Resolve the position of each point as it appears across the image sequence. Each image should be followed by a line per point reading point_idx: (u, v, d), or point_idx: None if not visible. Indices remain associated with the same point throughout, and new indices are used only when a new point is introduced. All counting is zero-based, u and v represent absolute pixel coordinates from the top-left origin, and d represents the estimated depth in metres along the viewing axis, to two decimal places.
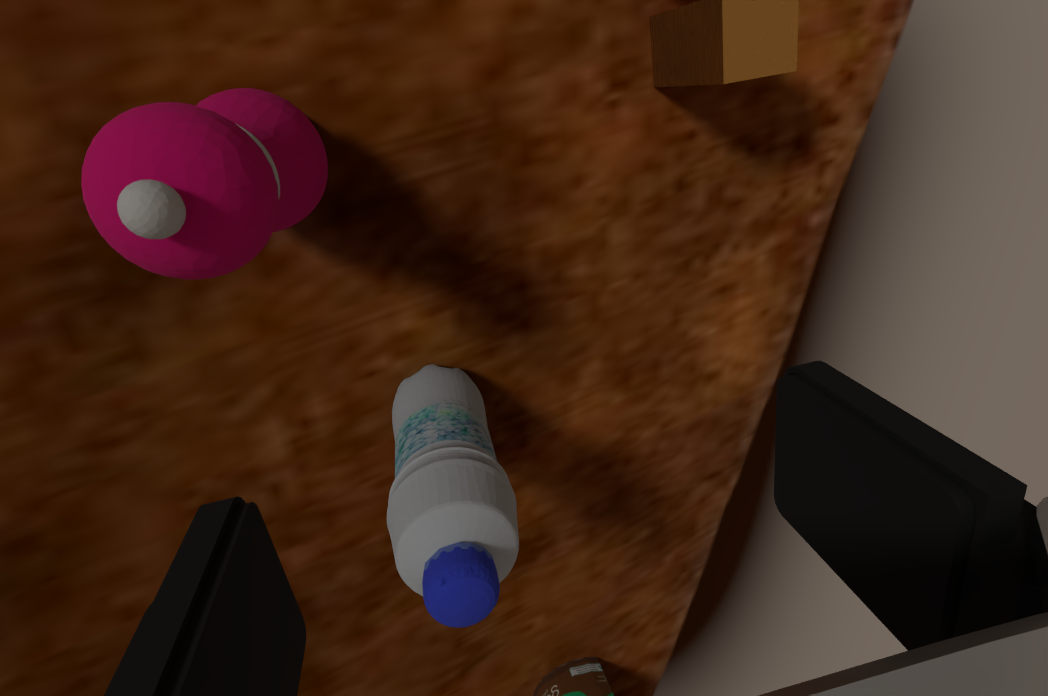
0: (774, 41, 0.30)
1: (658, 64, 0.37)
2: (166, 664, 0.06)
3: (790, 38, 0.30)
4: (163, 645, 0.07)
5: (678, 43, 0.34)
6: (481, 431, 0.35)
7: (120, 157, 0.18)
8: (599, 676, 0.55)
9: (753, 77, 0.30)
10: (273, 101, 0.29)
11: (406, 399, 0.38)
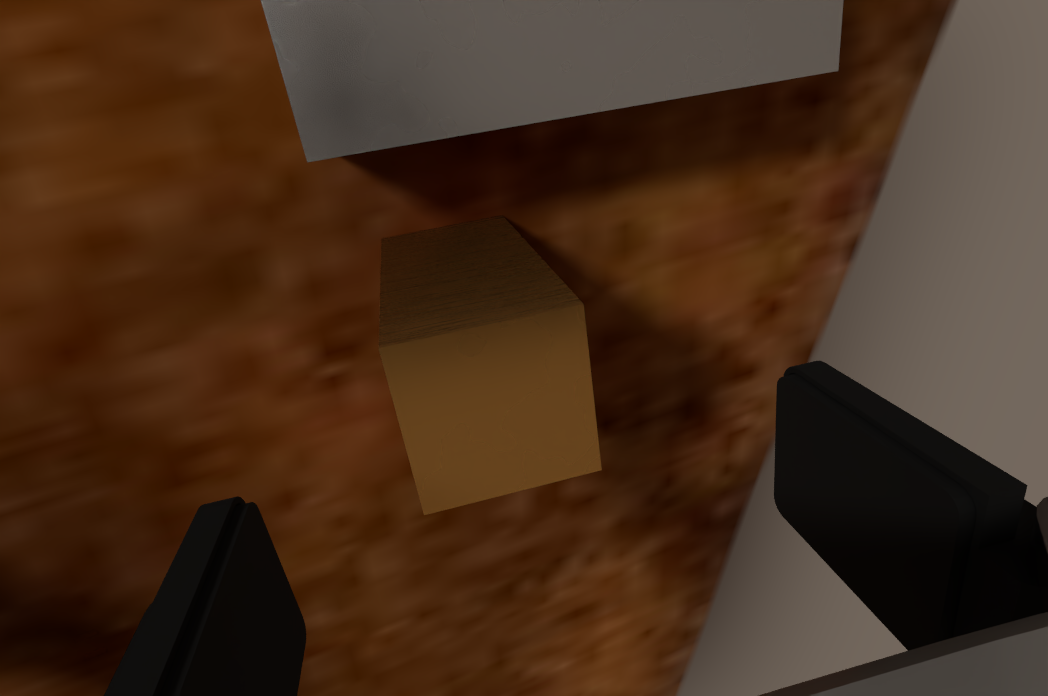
0: (538, 425, 0.13)
1: None
2: (165, 665, 0.06)
3: (578, 415, 0.13)
4: (163, 645, 0.07)
5: None
6: None
7: None
8: None
9: (497, 494, 0.13)
10: None
11: None
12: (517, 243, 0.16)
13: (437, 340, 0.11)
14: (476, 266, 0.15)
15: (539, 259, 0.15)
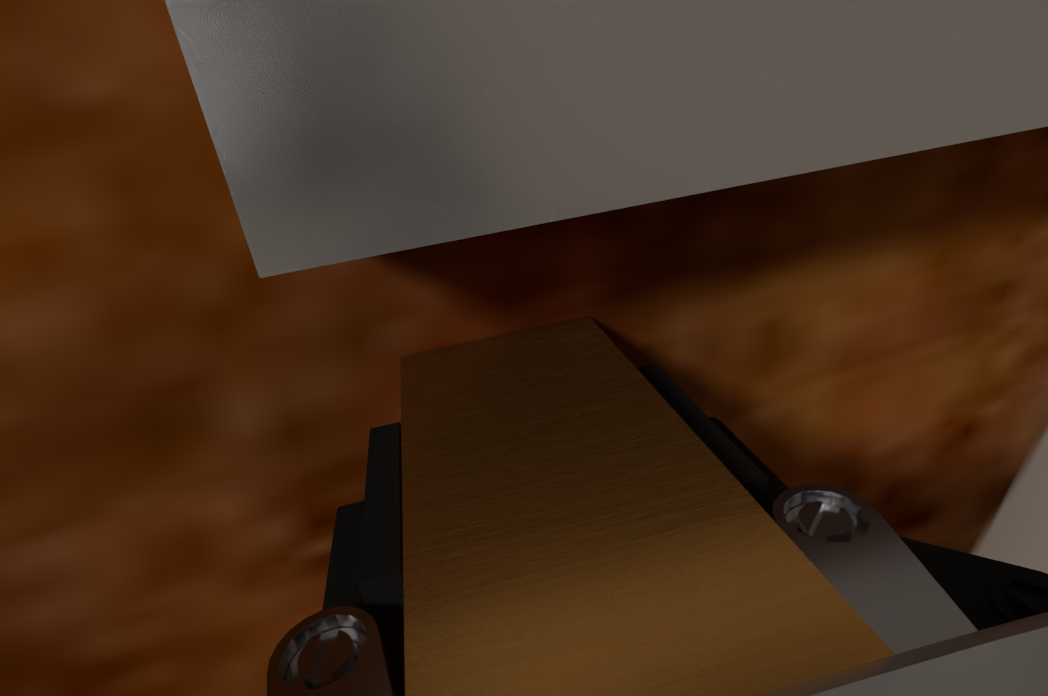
0: None
1: None
2: (399, 533, 0.08)
3: None
4: (391, 520, 0.08)
5: None
6: None
7: None
8: None
9: None
10: None
11: None
12: (644, 400, 0.09)
13: None
14: (589, 470, 0.08)
15: (715, 463, 0.07)
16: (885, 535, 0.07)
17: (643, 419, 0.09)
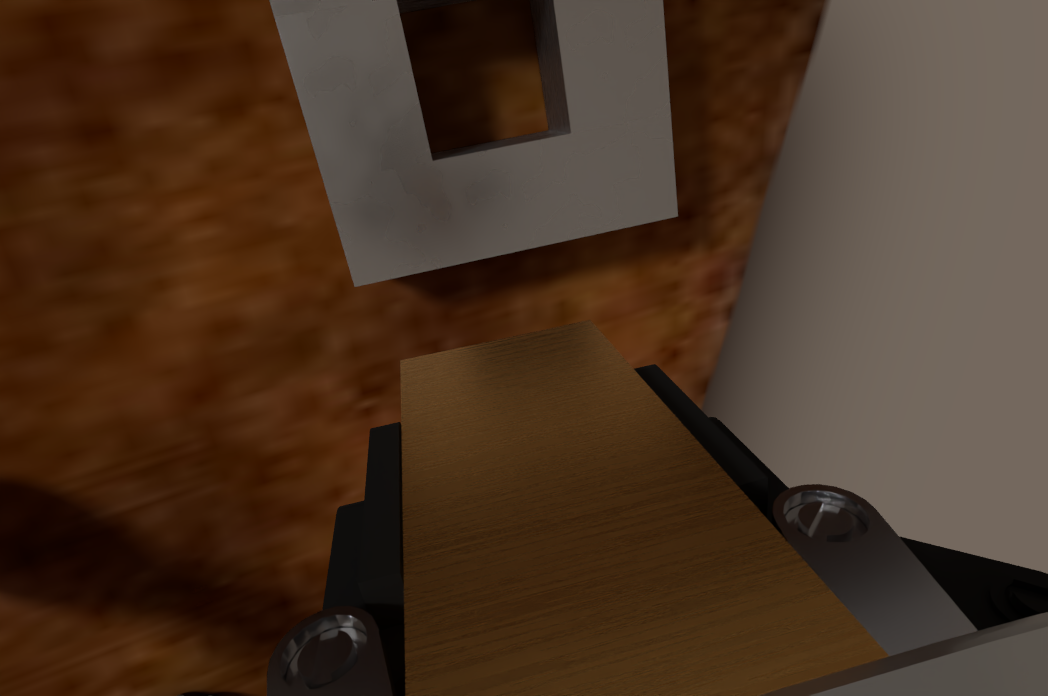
0: None
1: None
2: (399, 533, 0.08)
3: None
4: (391, 520, 0.08)
5: None
6: None
7: None
8: None
9: None
10: None
11: None
12: (644, 404, 0.09)
13: None
14: (588, 474, 0.08)
15: (715, 467, 0.07)
16: (885, 535, 0.07)
17: (643, 423, 0.09)
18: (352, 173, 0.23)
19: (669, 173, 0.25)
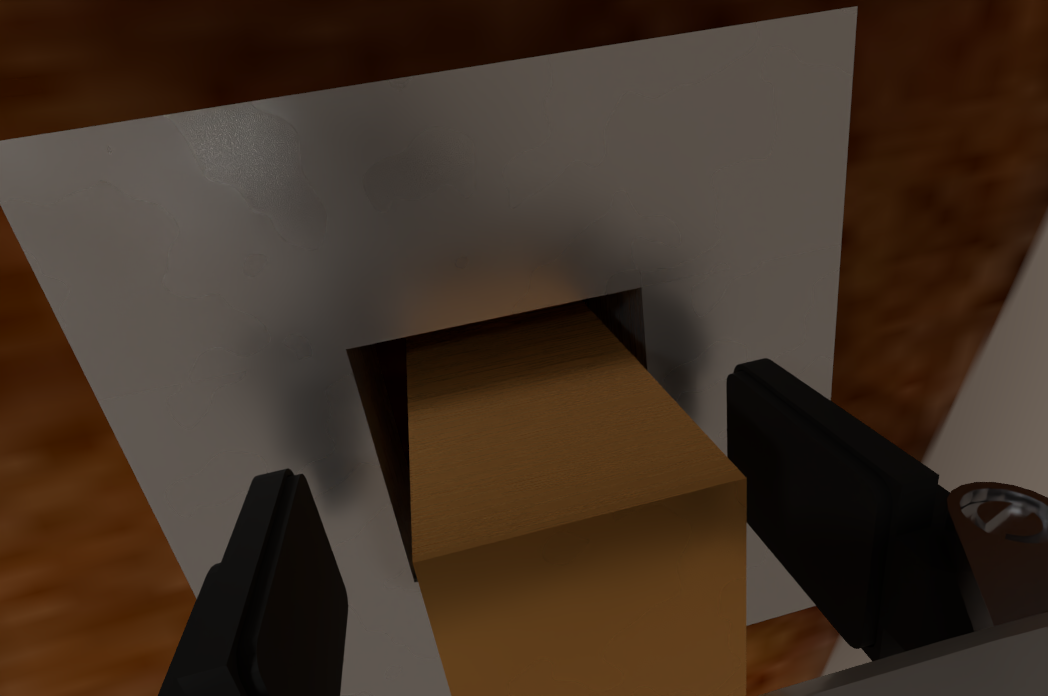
0: (658, 651, 0.08)
1: None
2: (243, 612, 0.07)
3: (720, 633, 0.08)
4: (238, 596, 0.07)
5: None
6: None
7: None
8: None
9: None
10: None
11: None
12: (593, 329, 0.12)
13: (509, 545, 0.07)
14: (545, 372, 0.10)
15: (636, 364, 0.10)
16: None
17: (590, 341, 0.11)
18: None
19: None
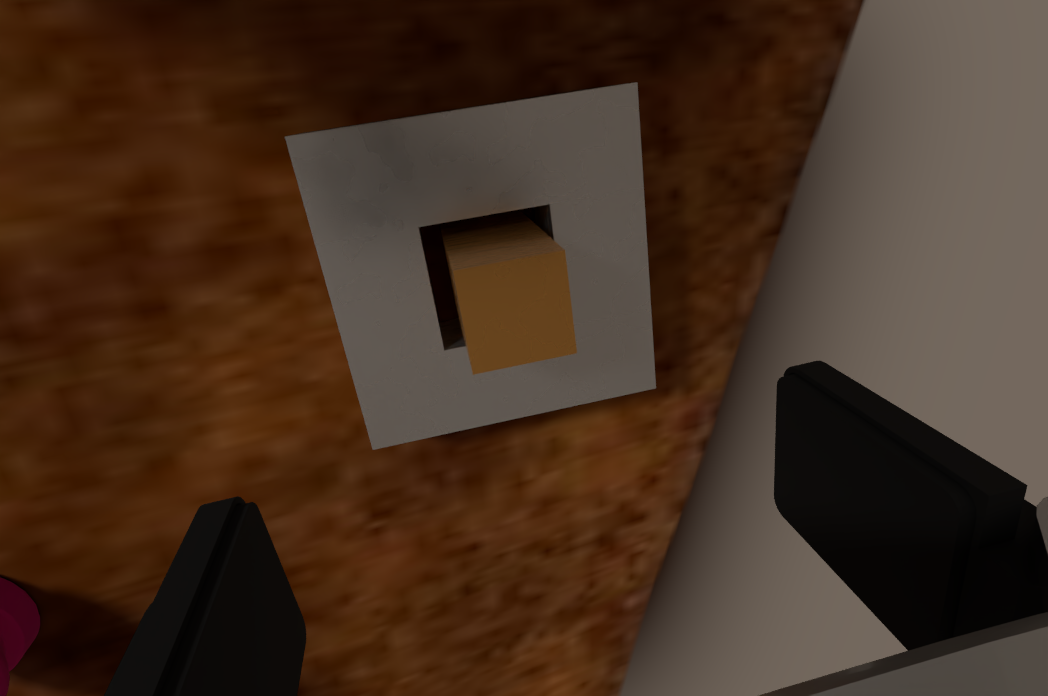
0: (539, 322, 0.22)
1: (451, 283, 0.29)
2: (165, 665, 0.06)
3: (562, 317, 0.22)
4: (163, 645, 0.07)
5: (452, 282, 0.26)
6: None
7: None
8: None
9: (515, 364, 0.22)
10: None
11: None
12: (529, 225, 0.26)
13: (484, 268, 0.21)
14: (504, 236, 0.24)
15: (542, 232, 0.24)
16: None
17: (526, 228, 0.25)
18: (375, 361, 0.26)
19: (649, 355, 0.29)
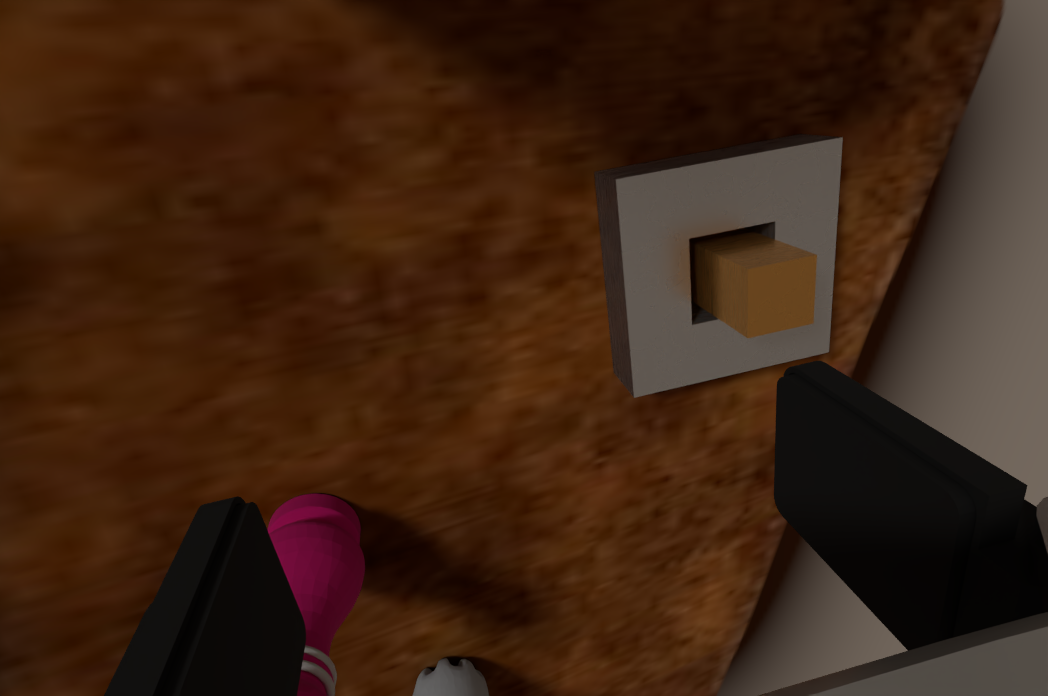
0: (794, 302, 0.33)
1: None
2: (166, 665, 0.06)
3: (808, 299, 0.33)
4: (163, 645, 0.07)
5: (704, 276, 0.37)
6: None
7: None
8: None
9: (774, 331, 0.33)
10: (325, 545, 0.37)
11: None
12: (758, 235, 0.37)
13: (767, 267, 0.32)
14: (750, 244, 0.35)
15: (778, 241, 0.35)
16: None
17: (759, 238, 0.36)
18: (646, 333, 0.37)
19: (827, 327, 0.40)
